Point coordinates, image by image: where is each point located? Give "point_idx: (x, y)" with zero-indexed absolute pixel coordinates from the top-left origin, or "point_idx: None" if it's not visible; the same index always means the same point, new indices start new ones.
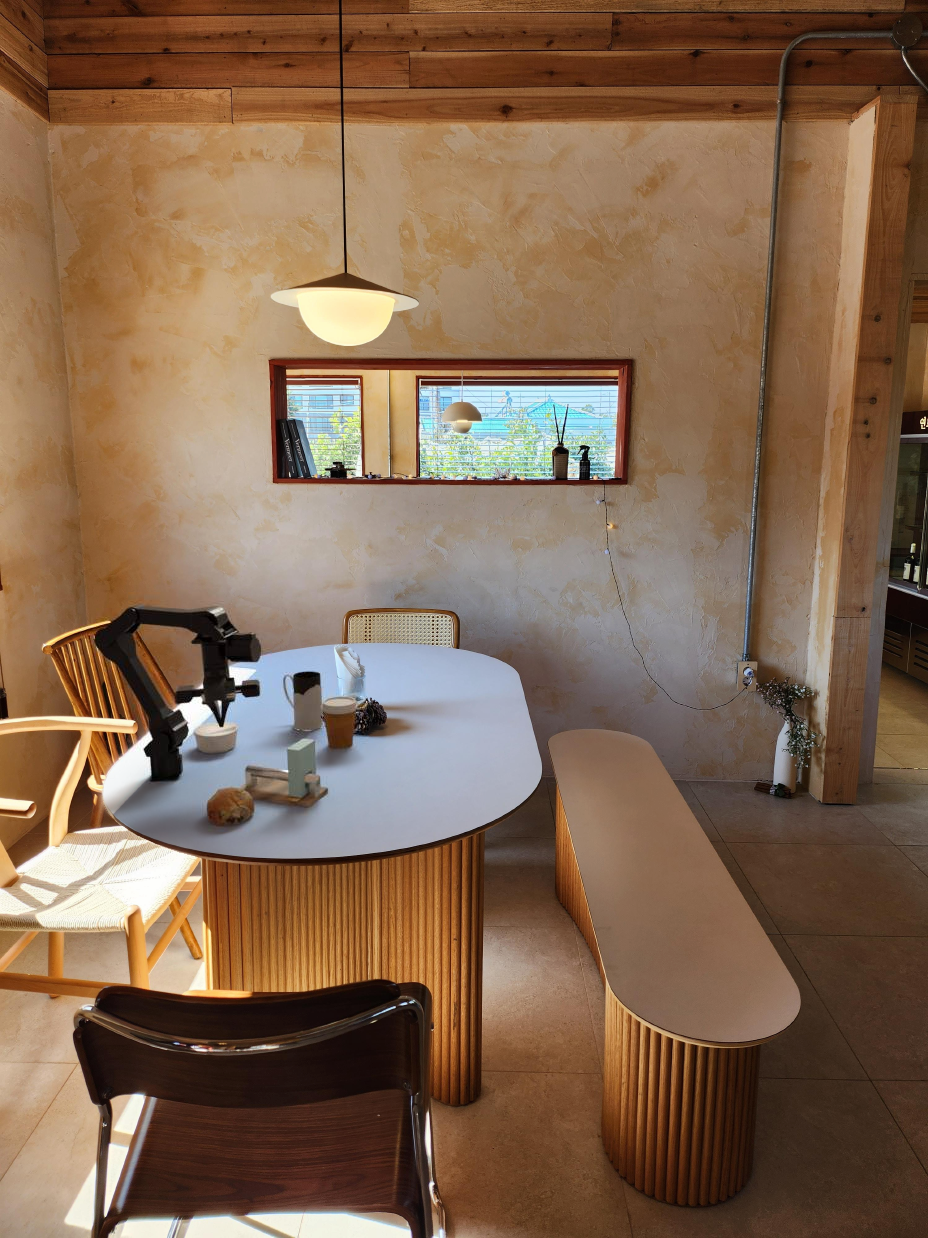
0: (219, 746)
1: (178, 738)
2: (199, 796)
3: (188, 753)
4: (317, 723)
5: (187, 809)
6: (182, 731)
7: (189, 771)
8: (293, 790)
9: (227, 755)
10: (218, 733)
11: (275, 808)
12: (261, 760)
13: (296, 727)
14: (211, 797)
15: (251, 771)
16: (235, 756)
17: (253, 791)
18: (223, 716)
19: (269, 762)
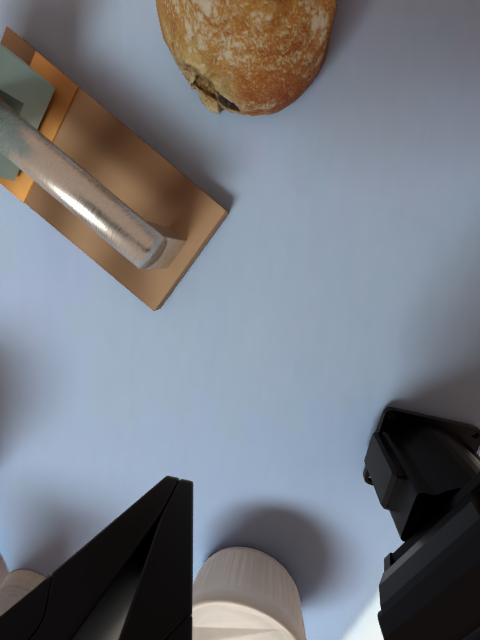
0: (240, 564)
1: (461, 540)
2: (335, 245)
3: (327, 581)
4: (2, 589)
5: (391, 137)
6: (436, 606)
7: (341, 457)
8: (20, 60)
9: (225, 520)
10: (233, 624)
11: (112, 60)
12: (141, 449)
13: None
14: (317, 1)
15: (137, 218)
16: (205, 504)
17: (165, 188)
18: (98, 556)
19: (122, 427)
